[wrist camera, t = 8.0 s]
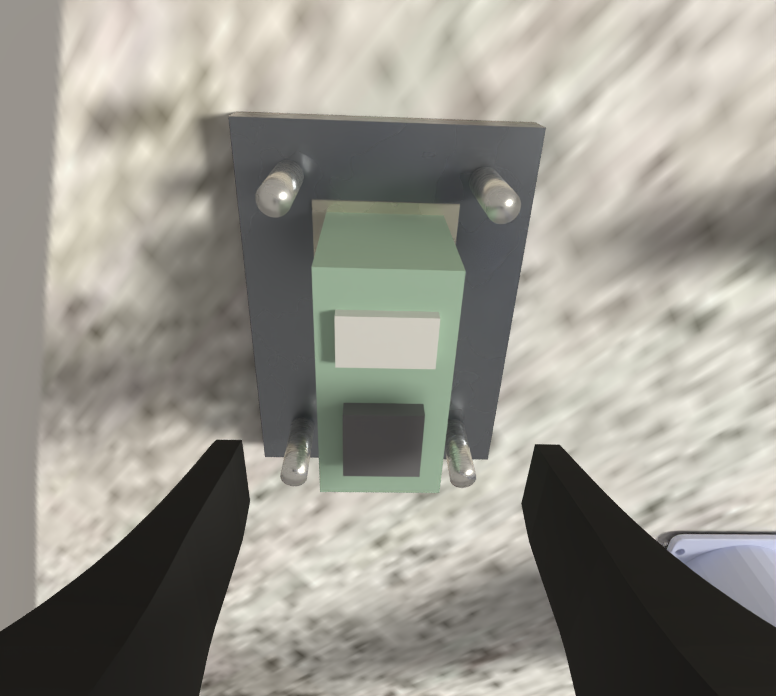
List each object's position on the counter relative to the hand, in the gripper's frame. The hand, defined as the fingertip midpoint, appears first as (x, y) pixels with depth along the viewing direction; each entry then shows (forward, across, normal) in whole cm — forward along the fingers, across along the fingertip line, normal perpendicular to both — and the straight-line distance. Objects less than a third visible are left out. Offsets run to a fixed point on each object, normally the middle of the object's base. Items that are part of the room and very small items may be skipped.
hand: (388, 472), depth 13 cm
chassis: (+9, 0, 0) cm, 9 cm away
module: (+8, 0, 0) cm, 8 cm away
